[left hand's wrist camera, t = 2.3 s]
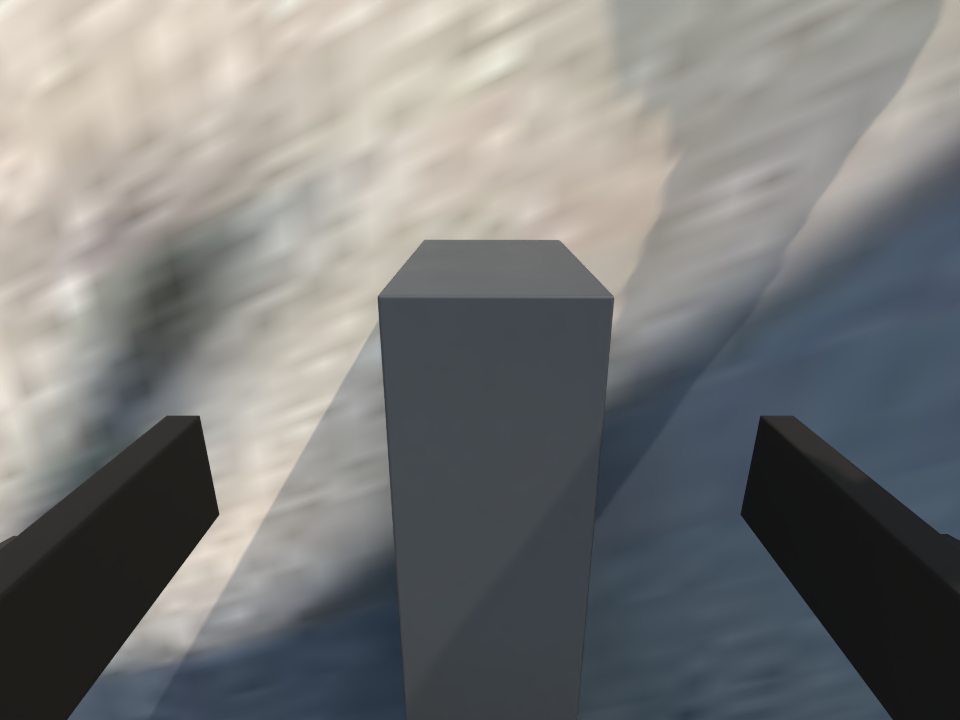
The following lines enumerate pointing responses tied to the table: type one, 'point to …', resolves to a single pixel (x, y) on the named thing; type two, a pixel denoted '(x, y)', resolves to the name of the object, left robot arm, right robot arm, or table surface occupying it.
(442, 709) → the post
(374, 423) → the table surface
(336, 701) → the table surface
